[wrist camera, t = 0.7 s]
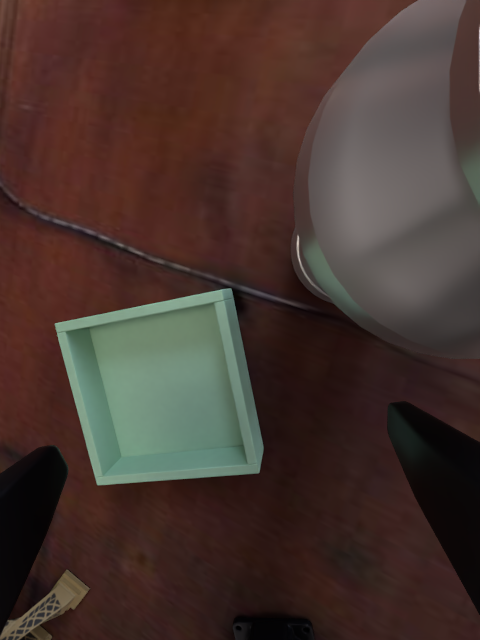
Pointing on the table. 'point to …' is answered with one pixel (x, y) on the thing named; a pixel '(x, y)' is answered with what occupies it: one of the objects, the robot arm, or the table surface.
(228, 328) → the bin
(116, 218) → the table surface
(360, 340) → the table surface
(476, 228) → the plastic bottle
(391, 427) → the robot arm
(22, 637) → the eiffel tower
